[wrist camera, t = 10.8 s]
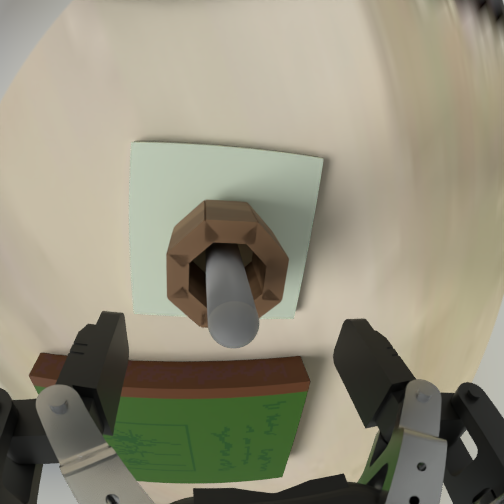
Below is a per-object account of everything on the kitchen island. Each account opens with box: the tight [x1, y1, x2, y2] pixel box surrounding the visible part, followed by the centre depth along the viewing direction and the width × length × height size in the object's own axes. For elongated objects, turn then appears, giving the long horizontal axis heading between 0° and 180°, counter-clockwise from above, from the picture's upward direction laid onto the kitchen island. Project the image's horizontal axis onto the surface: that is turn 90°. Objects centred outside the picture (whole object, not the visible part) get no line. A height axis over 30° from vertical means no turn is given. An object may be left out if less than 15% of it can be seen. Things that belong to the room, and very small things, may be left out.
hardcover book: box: [29, 353, 310, 483], centre depth 27 cm, size 25×19×4 cm
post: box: [129, 141, 324, 348], centre depth 16 cm, size 12×12×11 cm
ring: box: [166, 199, 289, 328], centre depth 17 cm, size 6×6×4 cm
